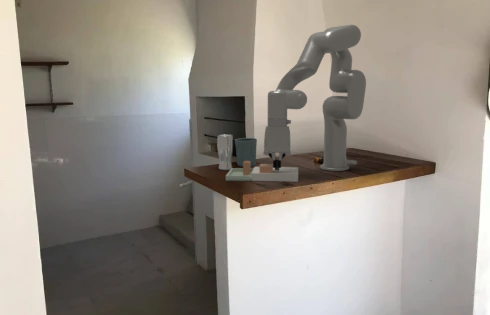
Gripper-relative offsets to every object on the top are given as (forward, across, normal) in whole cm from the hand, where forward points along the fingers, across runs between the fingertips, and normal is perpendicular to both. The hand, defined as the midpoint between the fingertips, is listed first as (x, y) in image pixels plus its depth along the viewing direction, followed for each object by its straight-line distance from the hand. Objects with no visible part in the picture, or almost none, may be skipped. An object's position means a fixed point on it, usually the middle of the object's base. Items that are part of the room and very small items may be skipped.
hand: (277, 169), depth 165 cm
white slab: (+4, +1, -3) cm, 5 cm away
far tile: (+1, +11, -6) cm, 13 cm away
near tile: (+1, +4, 0) cm, 4 cm away
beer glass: (+4, +24, -19) cm, 31 cm away
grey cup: (+4, +16, -29) cm, 33 cm away
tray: (+4, +15, -3) cm, 16 cm away
